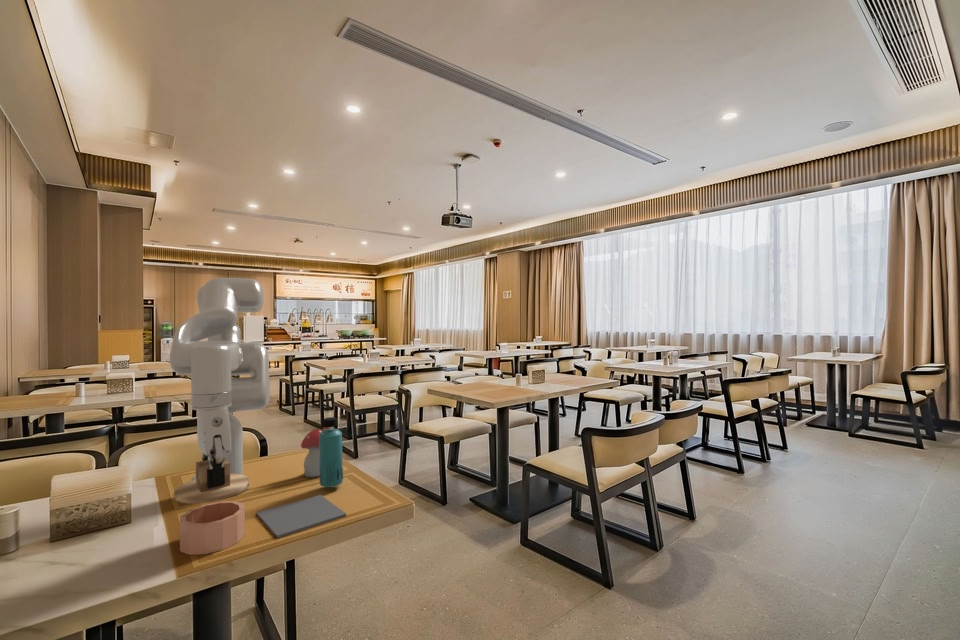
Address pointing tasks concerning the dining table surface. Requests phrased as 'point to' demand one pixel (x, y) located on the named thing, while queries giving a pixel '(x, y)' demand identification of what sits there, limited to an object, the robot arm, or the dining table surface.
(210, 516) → the bowl
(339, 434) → the beverage bottle
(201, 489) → the lid
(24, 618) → the dining table surface
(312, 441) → the decorative ornament
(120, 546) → the dining table surface
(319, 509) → the mat
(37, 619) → the dining table surface
